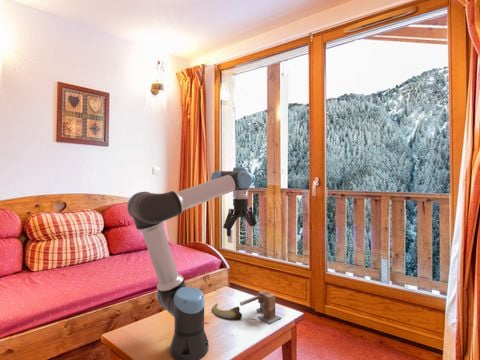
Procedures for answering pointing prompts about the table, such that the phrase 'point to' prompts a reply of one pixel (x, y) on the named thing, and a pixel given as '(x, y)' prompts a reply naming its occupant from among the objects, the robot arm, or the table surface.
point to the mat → (268, 319)
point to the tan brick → (267, 304)
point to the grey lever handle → (254, 300)
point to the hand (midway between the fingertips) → (240, 240)
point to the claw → (227, 312)
